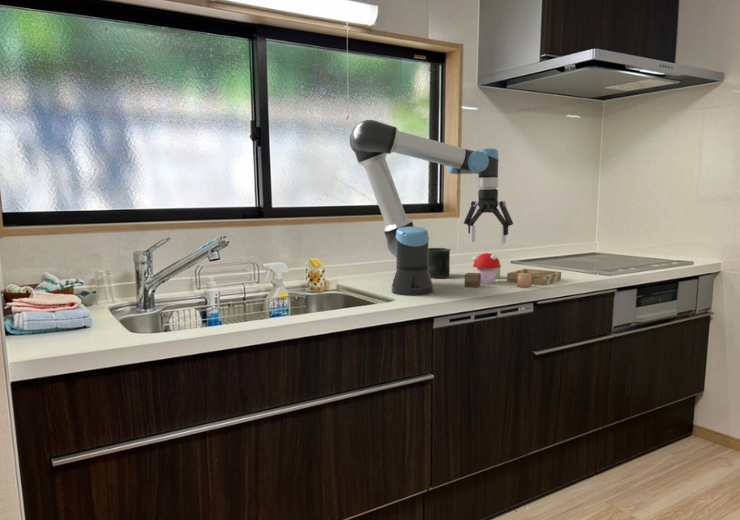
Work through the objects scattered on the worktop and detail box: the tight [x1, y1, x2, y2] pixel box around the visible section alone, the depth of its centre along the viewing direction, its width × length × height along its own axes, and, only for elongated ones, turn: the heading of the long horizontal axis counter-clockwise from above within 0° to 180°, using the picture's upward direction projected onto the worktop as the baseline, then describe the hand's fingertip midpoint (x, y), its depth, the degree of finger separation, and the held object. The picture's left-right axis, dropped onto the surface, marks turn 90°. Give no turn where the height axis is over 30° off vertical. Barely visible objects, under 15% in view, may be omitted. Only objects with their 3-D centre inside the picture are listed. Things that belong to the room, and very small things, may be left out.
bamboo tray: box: [506, 268, 562, 286], centre depth 221 cm, size 16×16×3 cm
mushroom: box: [472, 252, 502, 285], centre depth 217 cm, size 11×11×12 cm
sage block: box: [495, 267, 501, 280], centre depth 229 cm, size 5×5×6 cm
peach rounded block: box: [516, 273, 532, 289], centre depth 207 cm, size 5×5×5 cm
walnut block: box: [464, 272, 482, 289], centre depth 209 cm, size 5×5×5 cm
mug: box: [428, 247, 451, 279], centre depth 233 cm, size 11×15×12 cm
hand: (487, 242), depth 215 cm, fingers open, 13 cm apart
